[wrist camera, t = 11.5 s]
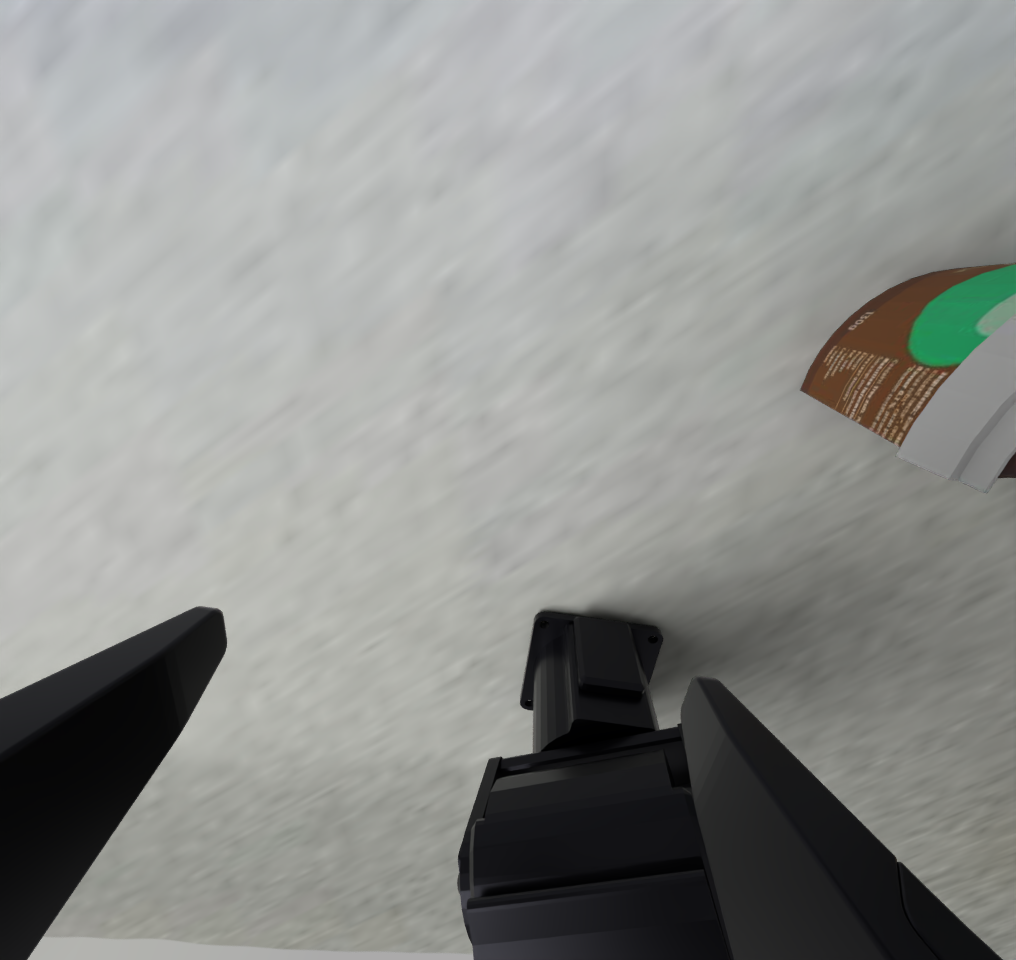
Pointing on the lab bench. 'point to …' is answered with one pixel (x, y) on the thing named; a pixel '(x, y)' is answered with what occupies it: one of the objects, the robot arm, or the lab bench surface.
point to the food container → (932, 372)
